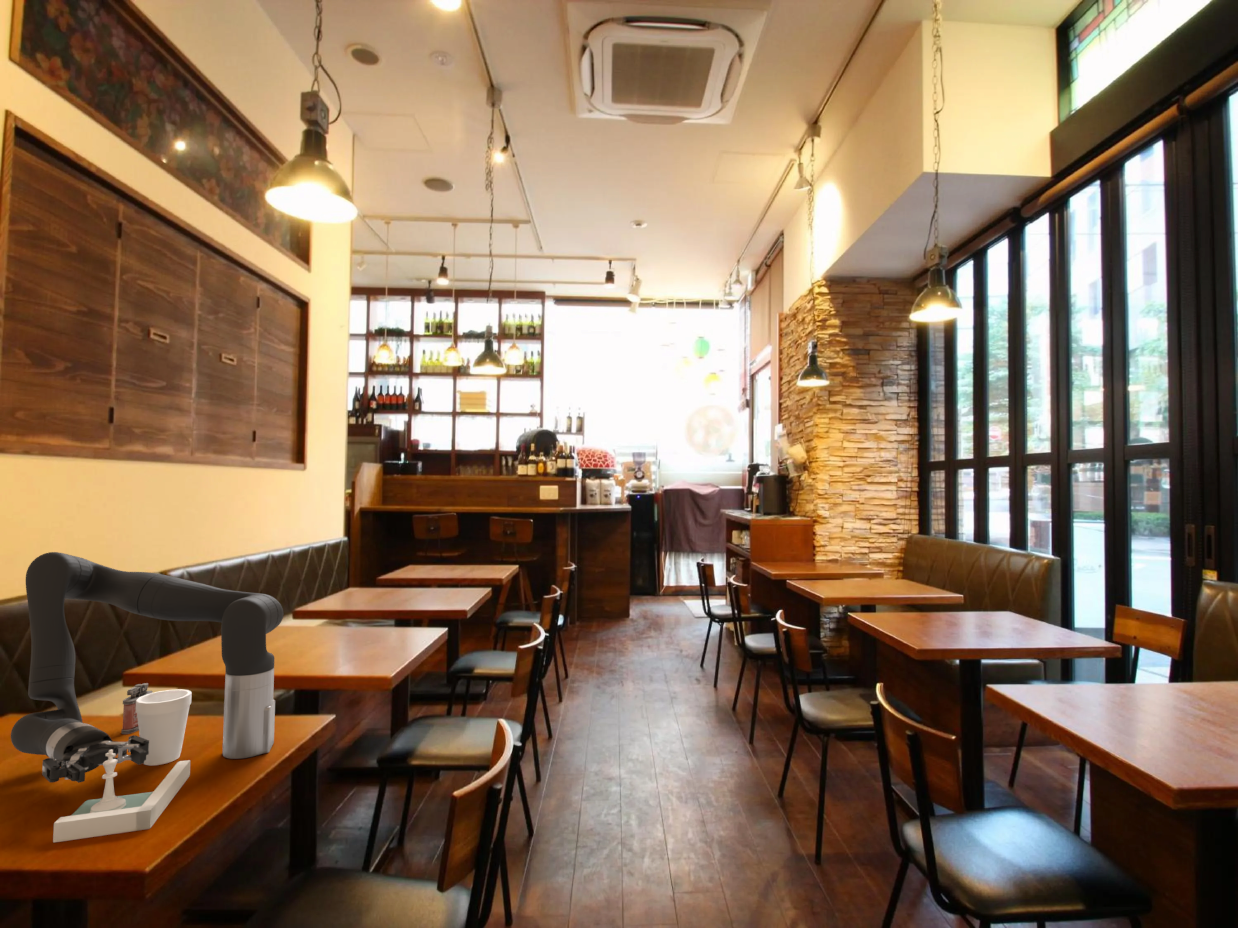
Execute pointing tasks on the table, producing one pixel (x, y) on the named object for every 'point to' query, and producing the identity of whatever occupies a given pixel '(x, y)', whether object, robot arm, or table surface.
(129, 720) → the lighter
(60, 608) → the robot arm
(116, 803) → the chess piece
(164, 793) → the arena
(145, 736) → the foam cup
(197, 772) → the table surface
